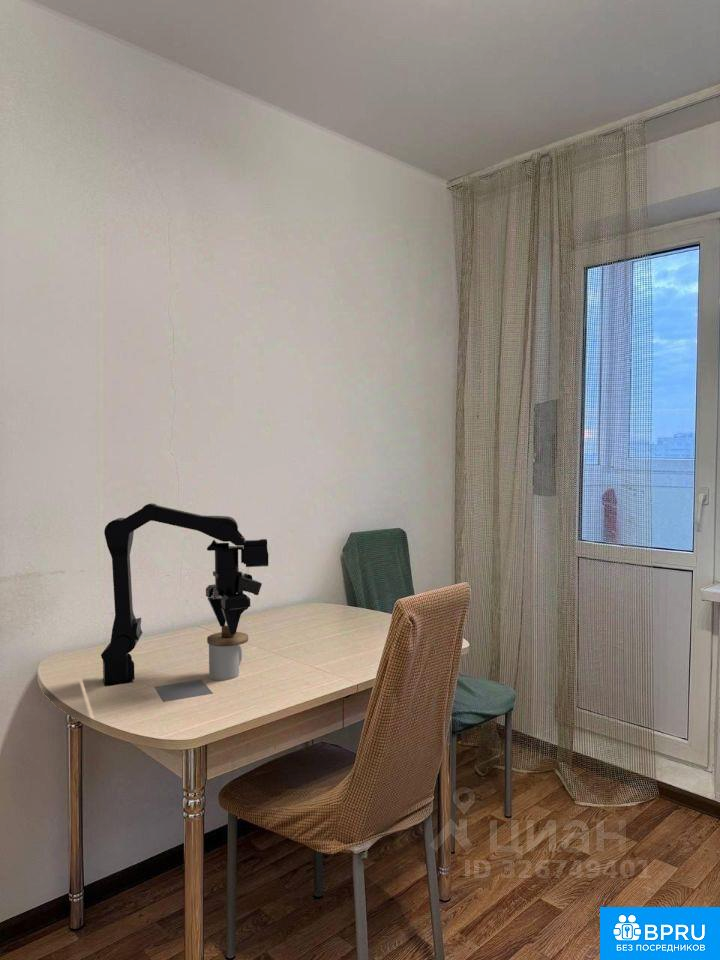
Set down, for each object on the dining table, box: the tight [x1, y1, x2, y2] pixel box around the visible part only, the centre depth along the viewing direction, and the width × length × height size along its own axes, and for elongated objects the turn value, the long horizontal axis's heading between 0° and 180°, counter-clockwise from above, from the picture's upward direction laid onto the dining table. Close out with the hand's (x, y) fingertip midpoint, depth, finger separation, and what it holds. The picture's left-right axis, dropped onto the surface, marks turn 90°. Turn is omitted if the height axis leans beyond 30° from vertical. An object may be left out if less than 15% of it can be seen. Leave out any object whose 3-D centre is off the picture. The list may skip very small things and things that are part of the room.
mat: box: [154, 678, 214, 703], centre depth 155 cm, size 11×11×1 cm
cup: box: [208, 644, 243, 681], centre depth 167 cm, size 7×10×9 cm
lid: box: [206, 624, 249, 646], centre depth 167 cm, size 10×10×4 cm
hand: (227, 630), depth 167 cm, fingers open, 9 cm apart
